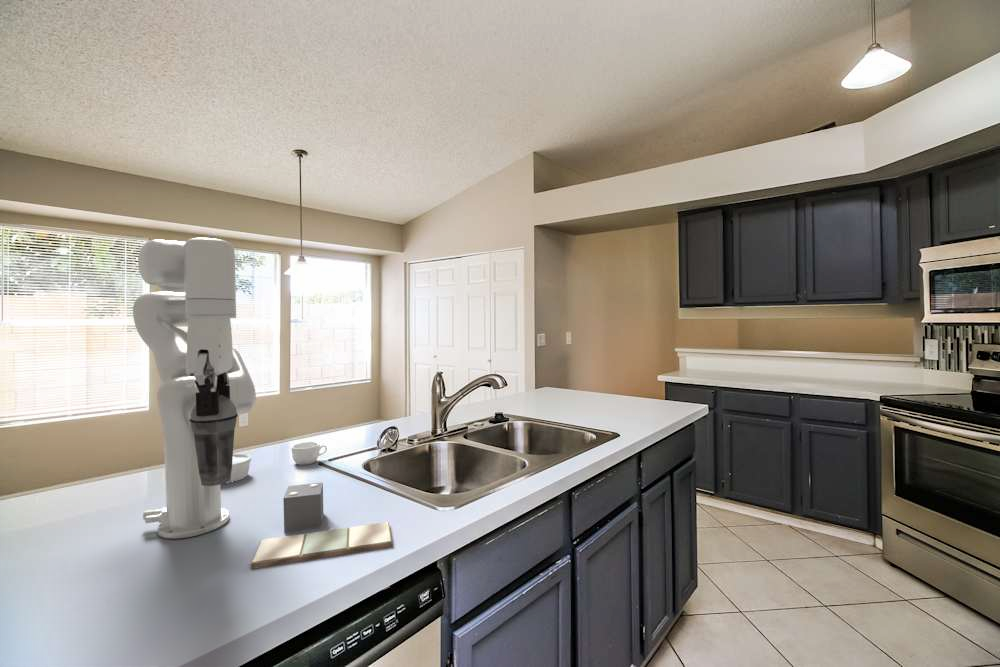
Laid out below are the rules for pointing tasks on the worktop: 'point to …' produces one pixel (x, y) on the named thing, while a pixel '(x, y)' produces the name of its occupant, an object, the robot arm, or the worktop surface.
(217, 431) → the beverage cup
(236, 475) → the ramekin
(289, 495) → the die
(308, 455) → the teacup
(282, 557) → the game track
